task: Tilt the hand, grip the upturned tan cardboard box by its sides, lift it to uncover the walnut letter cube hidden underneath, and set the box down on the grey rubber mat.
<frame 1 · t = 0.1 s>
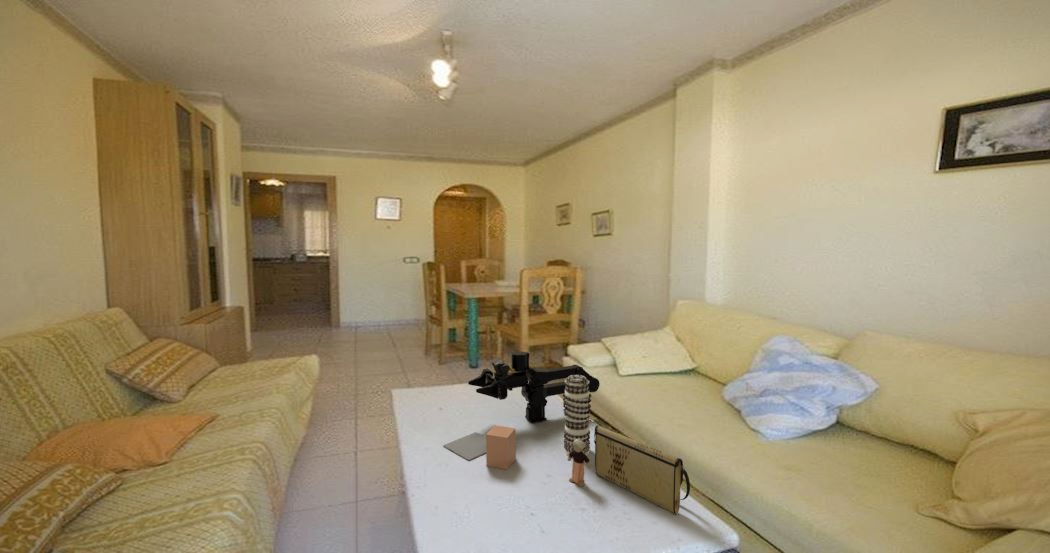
hand: (472, 386, 158), 17 cm above the table, tool horizontal, fingers open, 9 cm apart
rubber mat: (472, 446, 148), on the table
letter cube: (501, 456, 138), in the tan cardboard box
clutch purse: (637, 490, 122), on the table
grandmother figurine: (578, 482, 126), on the table
decorative candle: (576, 451, 144), on the table
tan cardboard box: (501, 462, 138), on the table
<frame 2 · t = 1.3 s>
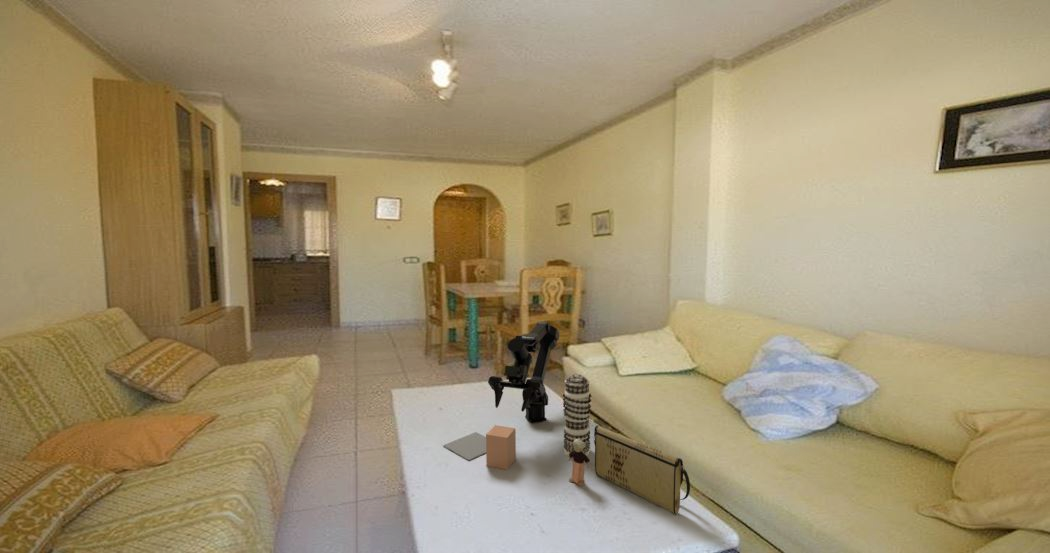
hand: (509, 409, 144), 14 cm above the table, tool tilted 45°, fingers open, 9 cm apart
nothing on the table moved.
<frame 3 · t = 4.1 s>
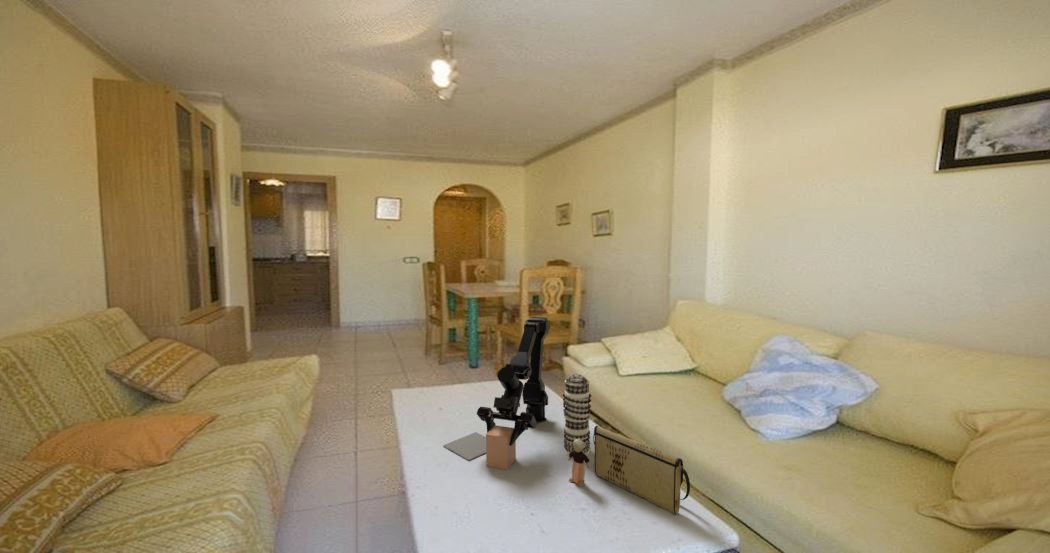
hand: (499, 443, 136), 7 cm above the table, tool tilted 45°, fingers closed on tan cardboard box, 7 cm apart
tan cardboard box: (501, 462, 138), on the table, touching gripper
everything else where it was.
when the fingers open (8 cm above the table, at t = 8.8 s): tan cardboard box drops 1 cm, resting on rubber mat.
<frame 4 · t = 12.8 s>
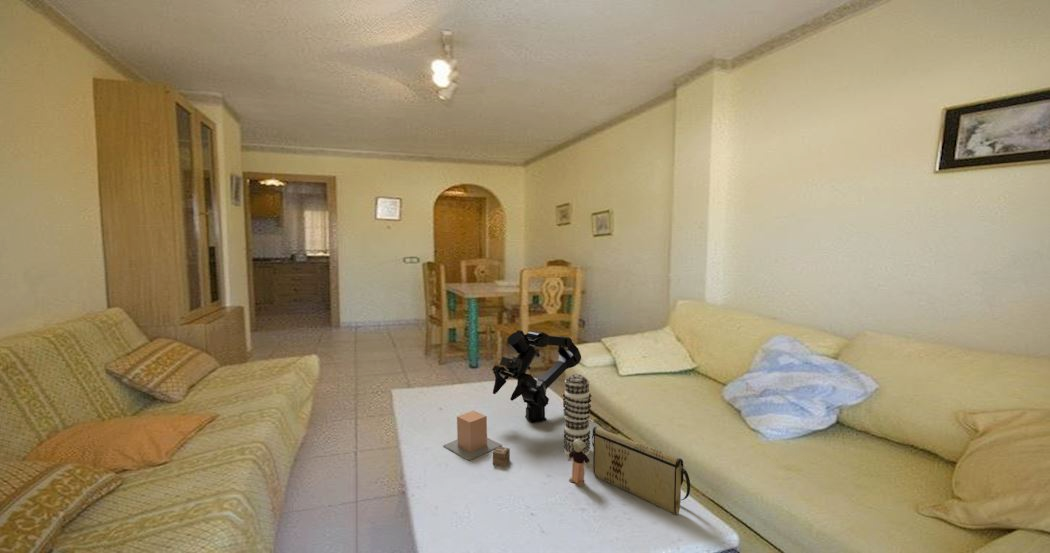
hand: (502, 396, 156), 14 cm above the table, tool tilted 45°, fingers open, 9 cm apart
tan cardboard box: (472, 444, 148), resting on rubber mat
everything else where it was.
at the end: tan cardboard box 0.1 cm from the rubber mat (horizontally); tan cardboard box tilted 0°; tan cardboard box resting on rubber mat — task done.
